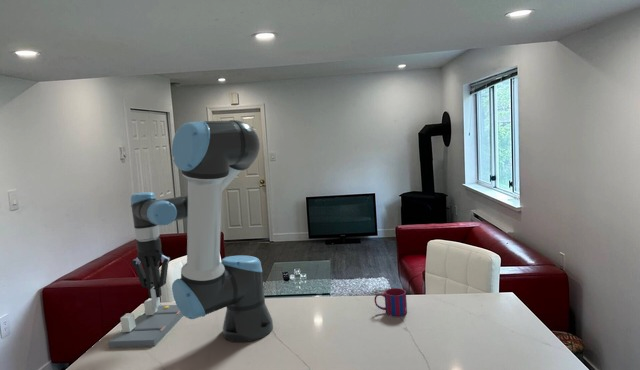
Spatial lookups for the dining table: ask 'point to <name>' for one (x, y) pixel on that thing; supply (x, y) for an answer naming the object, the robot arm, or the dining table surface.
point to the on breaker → (128, 322)
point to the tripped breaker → (149, 307)
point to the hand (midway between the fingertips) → (156, 306)
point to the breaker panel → (148, 328)
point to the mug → (394, 302)
